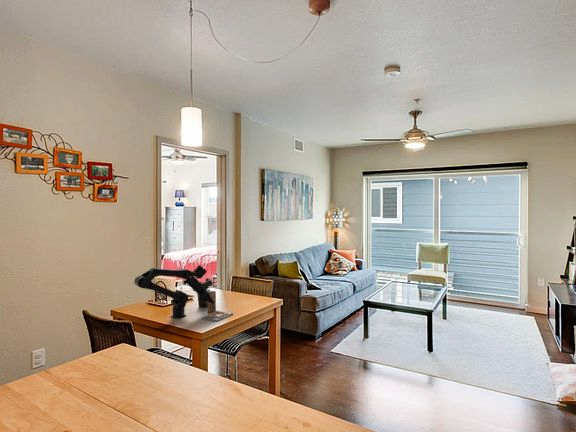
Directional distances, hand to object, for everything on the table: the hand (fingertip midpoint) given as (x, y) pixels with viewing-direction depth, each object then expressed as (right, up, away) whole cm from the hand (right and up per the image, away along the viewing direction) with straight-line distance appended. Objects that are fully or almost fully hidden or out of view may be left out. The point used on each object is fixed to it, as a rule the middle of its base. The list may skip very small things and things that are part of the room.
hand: (214, 301), depth 213 cm
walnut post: (-1, -7, 0) cm, 7 cm away
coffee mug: (-8, -7, +14) cm, 18 cm away
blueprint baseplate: (+4, -7, -8) cm, 12 cm away
